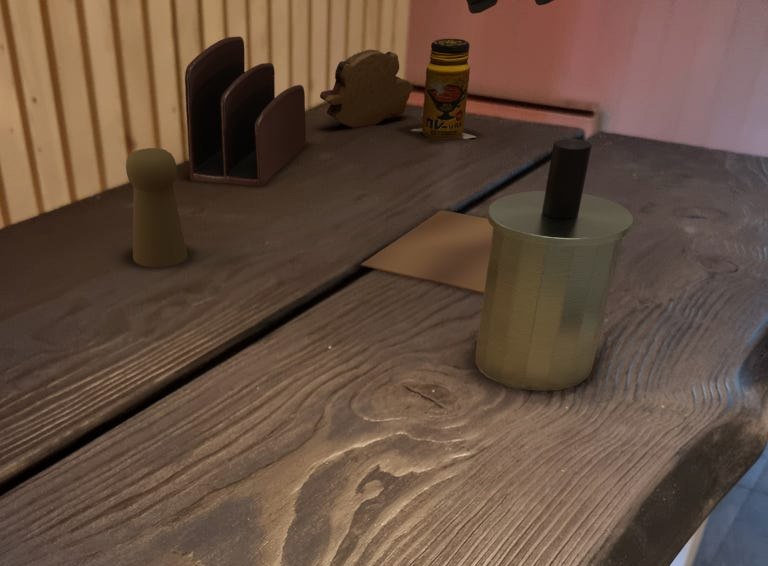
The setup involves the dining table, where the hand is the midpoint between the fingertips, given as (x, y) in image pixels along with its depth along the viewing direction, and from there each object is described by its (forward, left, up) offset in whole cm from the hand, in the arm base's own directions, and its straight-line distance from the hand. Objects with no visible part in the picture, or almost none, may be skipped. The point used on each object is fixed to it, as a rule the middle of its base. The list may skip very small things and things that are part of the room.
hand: (518, 5), depth 70 cm
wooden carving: (+44, -57, -26) cm, 77 cm away
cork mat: (+7, -17, -26) cm, 32 cm away
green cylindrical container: (-7, +5, -26) cm, 27 cm away
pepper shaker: (+37, +2, -26) cm, 45 cm away
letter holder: (+47, -32, -26) cm, 63 cm away
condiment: (+32, -58, -26) cm, 71 cm away
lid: (-7, +5, -13) cm, 16 cm away
